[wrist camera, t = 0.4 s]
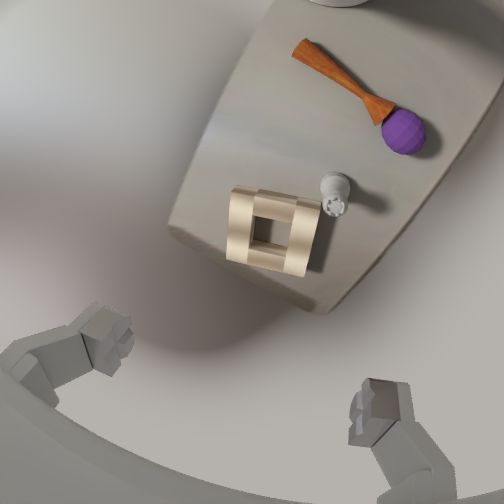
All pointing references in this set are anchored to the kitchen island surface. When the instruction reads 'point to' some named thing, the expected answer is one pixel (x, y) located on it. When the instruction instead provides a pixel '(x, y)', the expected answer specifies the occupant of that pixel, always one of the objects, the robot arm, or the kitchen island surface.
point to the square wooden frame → (278, 208)
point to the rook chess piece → (335, 193)
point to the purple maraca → (369, 102)
